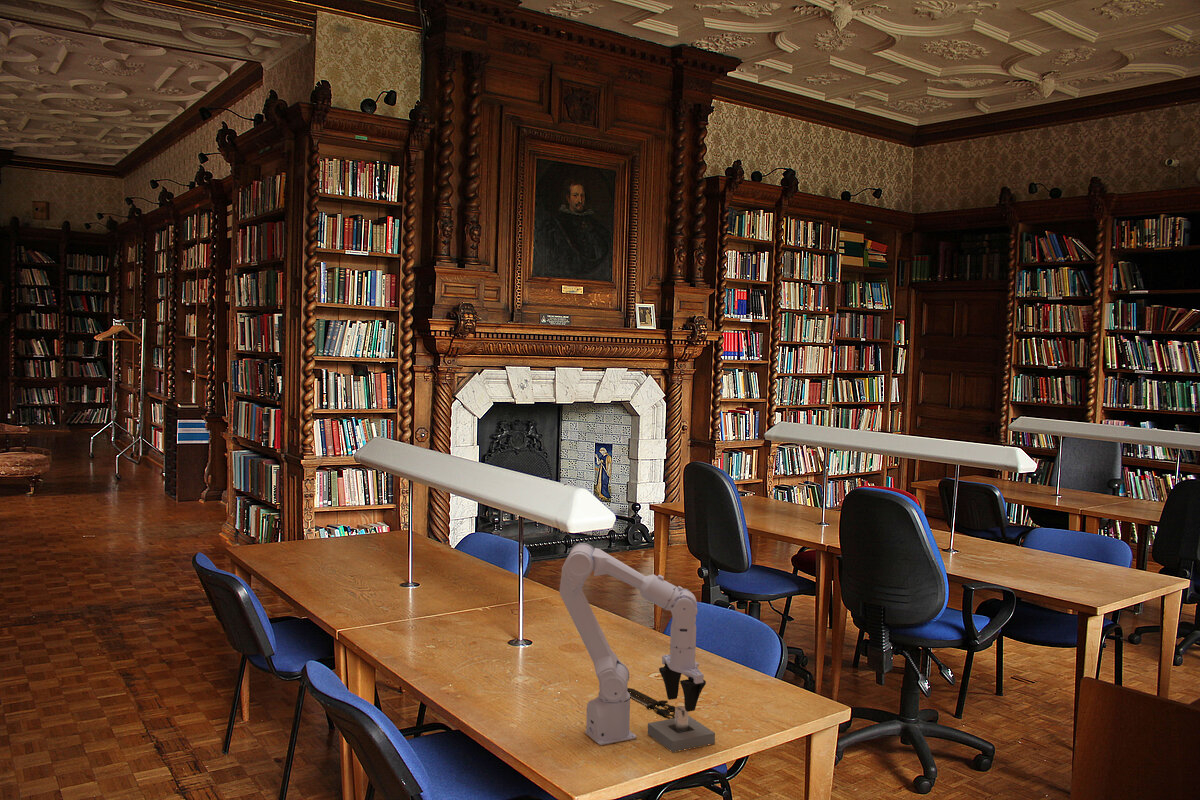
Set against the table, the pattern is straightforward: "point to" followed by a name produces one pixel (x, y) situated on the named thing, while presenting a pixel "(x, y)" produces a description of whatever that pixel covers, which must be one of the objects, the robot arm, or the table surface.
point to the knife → (652, 703)
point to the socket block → (680, 734)
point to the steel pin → (681, 719)
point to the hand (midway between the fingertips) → (681, 704)
